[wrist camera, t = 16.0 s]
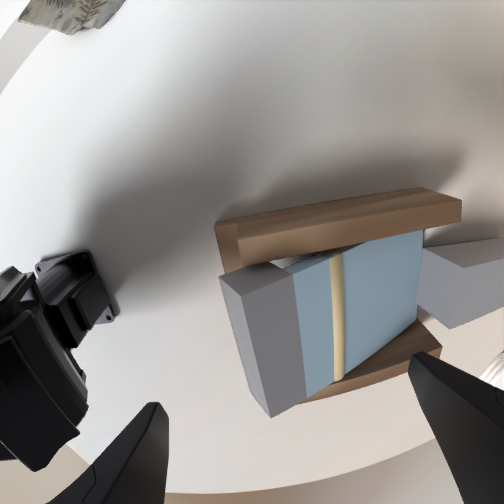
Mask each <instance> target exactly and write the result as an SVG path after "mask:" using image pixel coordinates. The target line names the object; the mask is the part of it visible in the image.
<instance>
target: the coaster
mask: <svg viewBox="0 0 504 504" xmlns="http://www.w3.org/2000/svg"><path fill="white" fill-rule="evenodd" d="M479 379H481V380H483V381H485V382H487V383H489V384H491V385H493V386H494V387H497V388H499V389H501V390H504V352H503V353H501V354H500V355H499V356H497V357H496V358H495V359H494V360H493V361H492V362H491V363H490V364H489V365H488V366H487V368H486V369H485V370H484V371H483V373H482V374H481V375H480V377H479Z"/></svg>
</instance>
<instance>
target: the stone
mask: <svg viewBox="0 0 504 504" xmlns="http://www.w3.org/2000/svg"><path fill="white" fill-rule="evenodd" d="M415 303H416V304H418V305H419V306H420V307H422V308H423V309H424V310H425V311H427V312H428V313H429V314H431V315H432V316H433V317H434V318H436V319H437V320H438V321H439V322H441V323H442V324H443V325H444V326H446V327H447V328H448V329H449V330H450V329H452V328H455V327H457V326H460V325H462V324H465V323H467V322H470V321H472V320H475V319H477V318H479V317H482V316H484V315H486V314H488V313H491V312H493V311H495V310H497V309H499V308H501V307H504V240H503V239H500V238H493V239H487V240H480V241H473V242H466V243H459V244H451V245H444V246H437V247H429V248H423V253H422V262H421V270H420V277H419V284H418V290H417V296H416V301H415Z"/></svg>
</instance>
